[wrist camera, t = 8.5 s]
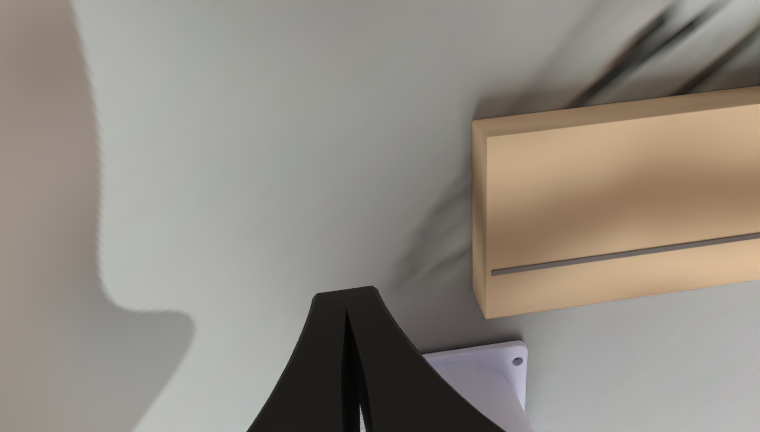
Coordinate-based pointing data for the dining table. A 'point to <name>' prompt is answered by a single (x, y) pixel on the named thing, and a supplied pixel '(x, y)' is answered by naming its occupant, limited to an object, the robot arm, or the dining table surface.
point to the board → (615, 201)
